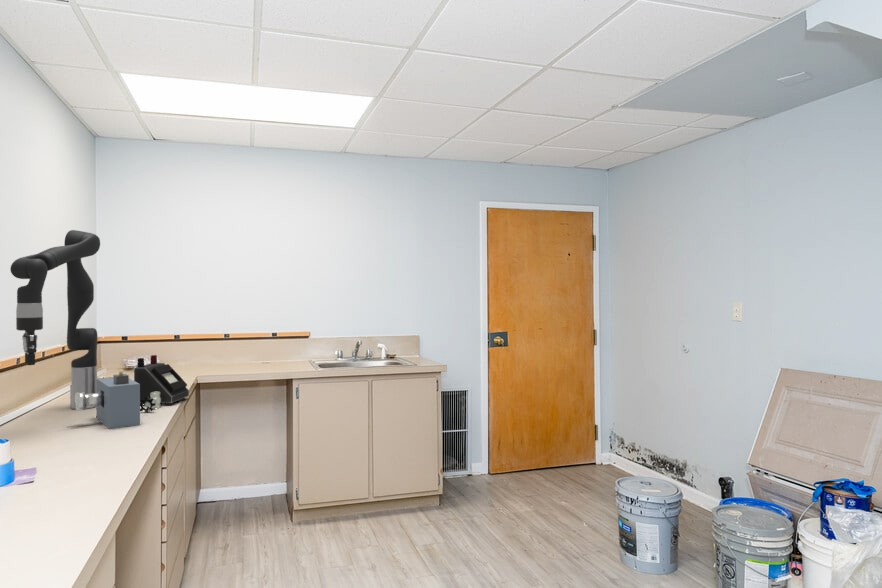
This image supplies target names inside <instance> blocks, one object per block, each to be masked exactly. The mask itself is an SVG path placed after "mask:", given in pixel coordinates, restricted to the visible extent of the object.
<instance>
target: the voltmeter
mask: <svg viewBox="0 0 882 588" xmlns="http://www.w3.org/2000/svg"><path fill="white" fill-rule="evenodd" d="M133 381H135V382H137V383H139V384H140V399H143V400H145V397H146V396H148V399H150V398H151V397H150V393H151V392H160V398H161V402H160V404H161V403H162V404H165V403H166V406H172V405H173V403H174V402H177V401H184V400H185V399H186V397H189V396H190V394H189V393H190V390H189V389H188V388H187V387H188V383H186V382H185V380H184V379H183V378H182V377H181V376H180V375H179V374H178V372H176V371H175V369H173V367H172V366H171V365H170V364H169V363H167V364H165V362H158V358H157V354H152V355H150V363H148V364H145V358H144V357H139V358H137V366H136V367H134V368H133ZM145 402H148V401H145ZM140 404H141V402H140ZM143 404H145V403H143ZM143 404H142V405H143ZM143 406H144V405H143Z"/></svg>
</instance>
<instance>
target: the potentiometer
mask: <svg viewBox="0 0 882 588" xmlns="http://www.w3.org/2000/svg"><path fill="white" fill-rule="evenodd" d="M129 377H130V375H129V374H127V373H124V369H119V370H118V374H113V381H114V384H116V385H119V384H129V379H130V378H129Z"/></svg>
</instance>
